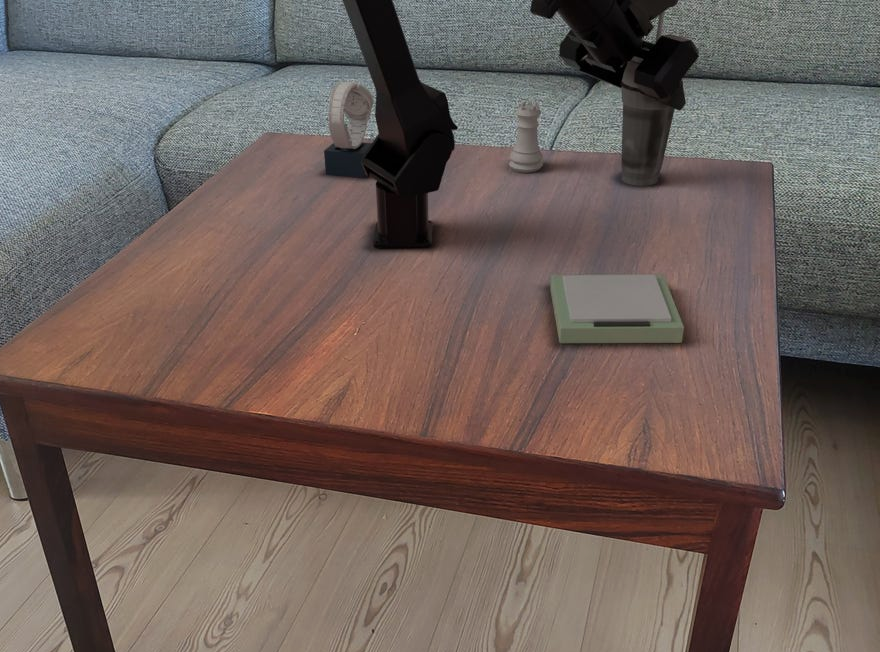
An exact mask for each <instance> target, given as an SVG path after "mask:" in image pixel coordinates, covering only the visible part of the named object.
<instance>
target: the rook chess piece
mask: <svg viewBox="0 0 880 652" xmlns="http://www.w3.org/2000/svg"><path fill="white" fill-rule="evenodd" d="M541 114H542V111H541V109H540V104H539V103H538V102H533V101H527V104H526V102H525V101H523V102H520V103H519V104H518V108H517V109H516V111H515V115H516V116H517V118H518V122H517V123H516V126H517V136H516V142H515V145H514V147H513V150H512V151H511V153H510V154H509V159H510V161H509V163H508V165H509V167H510V169H511V170H512V171H514V172H517V173H524V174H525V173H526V174H528V173H534V172H538V171H540V170H541V169H542V168H543V166H544V162H543V161H542V160H543V158H544V155H543V153H542V152H541V148H540V146H539V141H538V127H539V125H540V124H539V122H538V118H539V117H540V115H541Z"/></svg>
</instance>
